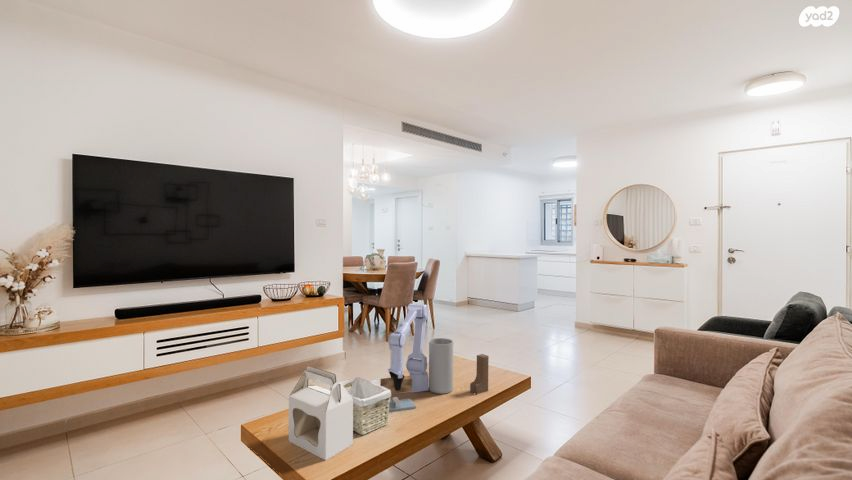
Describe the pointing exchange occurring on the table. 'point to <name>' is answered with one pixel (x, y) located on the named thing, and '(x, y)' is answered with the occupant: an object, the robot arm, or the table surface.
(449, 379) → the cylinder vase
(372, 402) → the storage basket
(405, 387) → the walnut plank
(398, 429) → the table surface
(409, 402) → the blue-grey flat rectangular panel
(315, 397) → the gable box
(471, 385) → the wooden block
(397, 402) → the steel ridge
